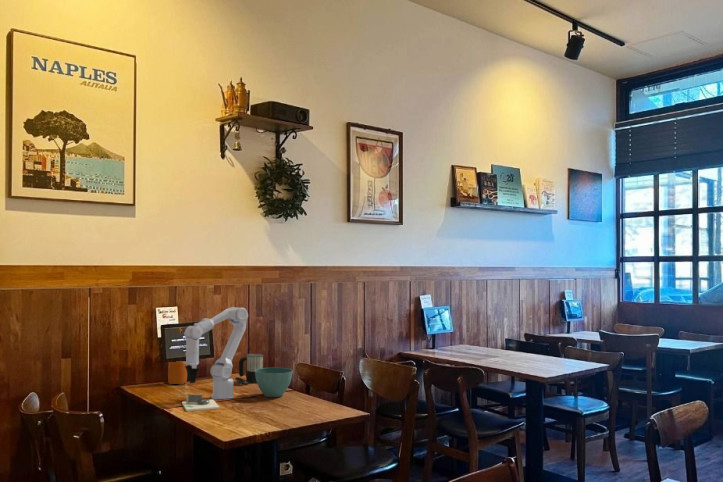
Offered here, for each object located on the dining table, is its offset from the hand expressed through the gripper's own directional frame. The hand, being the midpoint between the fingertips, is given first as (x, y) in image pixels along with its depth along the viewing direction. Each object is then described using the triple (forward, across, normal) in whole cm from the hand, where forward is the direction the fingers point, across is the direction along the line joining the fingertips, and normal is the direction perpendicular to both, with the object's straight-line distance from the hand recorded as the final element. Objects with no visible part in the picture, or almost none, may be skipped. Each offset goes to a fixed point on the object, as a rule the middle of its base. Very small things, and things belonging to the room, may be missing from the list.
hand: (191, 382), depth 276 cm
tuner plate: (+9, +8, +3) cm, 13 cm away
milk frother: (+10, -40, +36) cm, 54 cm away
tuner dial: (+8, +6, +2) cm, 11 cm away
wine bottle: (+10, -51, -1) cm, 52 cm away
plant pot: (+10, -2, +39) cm, 41 cm away
